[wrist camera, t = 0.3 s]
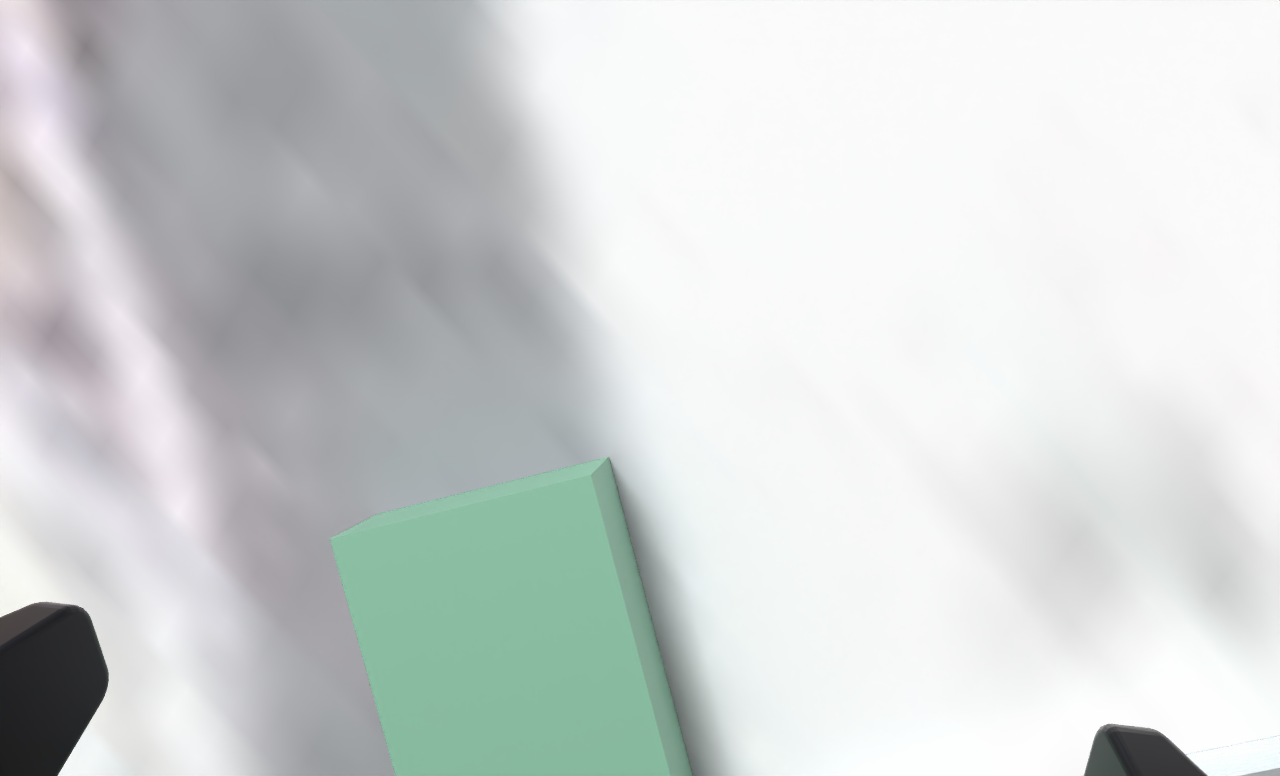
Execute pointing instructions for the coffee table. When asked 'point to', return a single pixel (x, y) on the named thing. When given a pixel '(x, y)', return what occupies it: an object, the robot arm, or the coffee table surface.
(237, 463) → the coffee table surface
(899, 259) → the coffee table surface
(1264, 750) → the white peg board
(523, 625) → the mint green rectangular block
